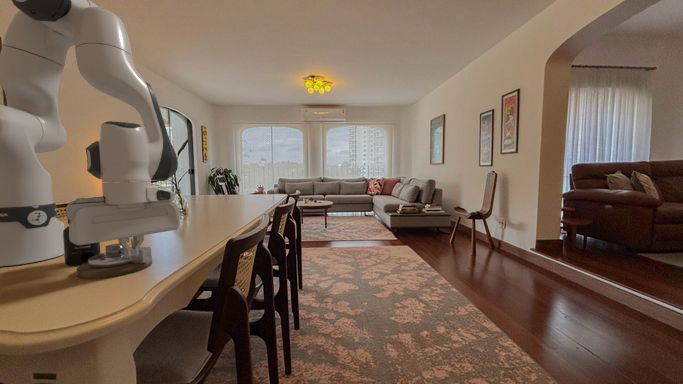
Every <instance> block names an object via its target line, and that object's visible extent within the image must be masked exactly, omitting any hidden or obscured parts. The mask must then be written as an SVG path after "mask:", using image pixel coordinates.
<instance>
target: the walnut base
mask: <svg viewBox="0 0 683 384" xmlns="http://www.w3.org/2000/svg"><path fill="white" fill-rule="evenodd" d="M130 241H131V242H130V243H131V247H133V245H134V243H135V241H136V240H133V238H131V239H130ZM152 264H153V256H152V255H151V260H149V261H147V262H144V263H132V262H131V263H127V264H123V265H118V266H111V267H90V266H89V264H88V262H86V263H84V264H82V265H80V266H77V268H76V277H78V278H79V279H83V280H102V279H111V278H116V277H122V276H126V275H129V274H133V273H137V272H140V271H143V270H144V269H147V268H149V267H151V265H152Z"/></svg>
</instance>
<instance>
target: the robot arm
mask: <svg viewBox="0 0 683 384" xmlns="http://www.w3.org/2000/svg"><path fill="white" fill-rule="evenodd" d="M11 2H12V4H13V5H14V6H15V7H16V9H18V10H19V11H17V12H16V13H15V15H14V17H13V18H12V20H11V21H10V23H9V26H8V28H7V30H6V33H5V35H4V39H3V41H2V42H3V43H2V46H1V50H0V86H1V88H2V89H3V92H4V93H5V97H6V105H4V104H0V267H7V266H9V267H10V266H16V265H25V264H31V263H36V262H40V261H45V260H46V261H47V260H49V259H53V258H57V257H60V256H62V255H63V256H64V243H63V231H64V229H65V228H66V227H65V224H64V222H63V221H61V220H59V219H58V218H57V216H58V208H57V205H56V203H55V202H54V191H53V180H52V175H51V174H50V172H48V170H46V168H44V167H43V165H42V164H41V162H40V160H39V158H38V155H37V154H43V153H49V152H53V151H56V150H57V151H58V150H60V149H61V148H62V147H63V146H64V145H65V144H66V142H67V139H68V135H67V130H66V128H65V127H64V126H63V124H62V121H61V118H60V112H59V111H60V110H59V90H60V86H61V81H62V78H63V74H64V69H65V68H64V67H65V64H66V59H67V54H68V51H69V49H70V48H71V47H73V46H74V51H75V59H76V63H77V68H78V71H79V74H80V75H81V77H82V78H83V79H84V80H85V81H86V82H87V83H88V84H89V85H90V86H92V87H93V88H94V89H96V90H97V91H99V92H101V93H103V94H105V95H107V96H109V97H112V98H115V99H118V100H120V101H122V102H124V103H125V104H127V105H129V106H130V107H132V108H134V109H135V110H136V111H137V112H138V113H139V115H140V119H141V120H142V124H143V126H142V125H140V124H138V123H134V122H127V121H126V122H124V121H112V120H110V121H109V120H108V121H105V122H102V123H101V125H100V133H99V140H95V141H94V142H93V143H90V144H89V145H88V146H87V147H86V148H85V153H86V160H87V161H86V163H87V164H86V165H87V167H86V168H87V170H86V171H87V172H88V173H89V174H91V175H92V176H93V177H94V178H97V179H98V180H101V191H102V196H95V197H94V196H93V197H87V198H85V197H79V198H75V199H74V200H73V201H70V202H69V203H67V206H66V207H65V210H66V212H65V213H66V217H67V220H68V219H69V220H70V226H69V225H68V226H69V240H70V241H71V242H72V243H74V244H76V245H85V244H91V243H98V242H100V243H104V242H110V241H115V240H118V243H119V244H120V245H121V246H122V247H123V248H124V249H125V254H126V257H127V258H130V257H135V256H139V248H140V247H142V244H143V242H144V240H145V239H144V238H145V237H144V236H146V235H153V234H159V233H165V232H172V231H177V230H178V229H179V228H180V226H181V217H180V210H179V207H178V204H177V203H176V202H175V201H174V200H175V198H176V193H175V192H174V191H172V190H168V189H162V188H160V187H155V186H152V181H154V182H166V181H168V180H169V179H170V178H172V177H173V176H174V175H175V173H176V172H177V171H178V167H179V166H178V165H179V163H178V157H177V156H178V155H177V154H176V151H175V149H174V146H173V144H172V143H171V140H170V136H169V134H168V132H167V131H168V130H167V128H166V124H165V121H164V118H163V114H162V111H161V108H160V105H159V101H158V98H157V97H156V94H155V92H154V89H153V87H152V86H151V84H150V83H148V82H147V81H146V80H144V79H143V77H142V76H141V75H140V74H139V72H138V70H137V69H136V66H135V63H134V58H133V57H134V56H133V51H132V46H131V42H130V41H131V40H130V38H129V34H128V32H127V28H126V26H125V24H124V22H123V20H122V19H121V18H120V17H119V16H118V15H116V14H115V13H114V12H112V11H111V10H108V9H106V8H103V7H99V6H98V5H97V4H96V3H94V2H93V1H92V0H11ZM130 238H132V239H133V240H136V241H135V243H134V245H133V247H132V246H130V245H129V244H128V243H130ZM131 247H132V248H131Z"/></svg>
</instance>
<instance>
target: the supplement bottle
mask: <svg viewBox="0 0 683 384" xmlns="http://www.w3.org/2000/svg"><path fill="white" fill-rule="evenodd" d="M67 224H68V226H67V227H64V228H65V229H64V231H63V243H64V254H63V256H64V264H65V266H68V267H76V266H77V267H78V266H80V265H82V264H84V263H86V262H88V259H89V258H90V257H92V256H95V255H98V254H101V242H98V243H91V244H85V245H76V244H74V243H72V242H71V241H70V240H69V226H70V220H69V219H68V218H67Z"/></svg>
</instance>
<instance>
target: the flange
mask: <svg viewBox="0 0 683 384" xmlns="http://www.w3.org/2000/svg"><path fill="white" fill-rule="evenodd" d="M130 248H132V246H130ZM151 256H152V249H151V246H140V248H139V256H135V257H130V258H127V257H126V254H125V249H124V248H123V247H122V246H121V245H120V244H119V242H118V243H112V244H108V245H106V246H105V252H104V253H100V254H98V255H95V256H92V257H90V258H89V259H88V264H89V266H90V267H111V266H118V265H123V264H127V263H131V262H132V263H144V262H147V261H149V260H151Z"/></svg>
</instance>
